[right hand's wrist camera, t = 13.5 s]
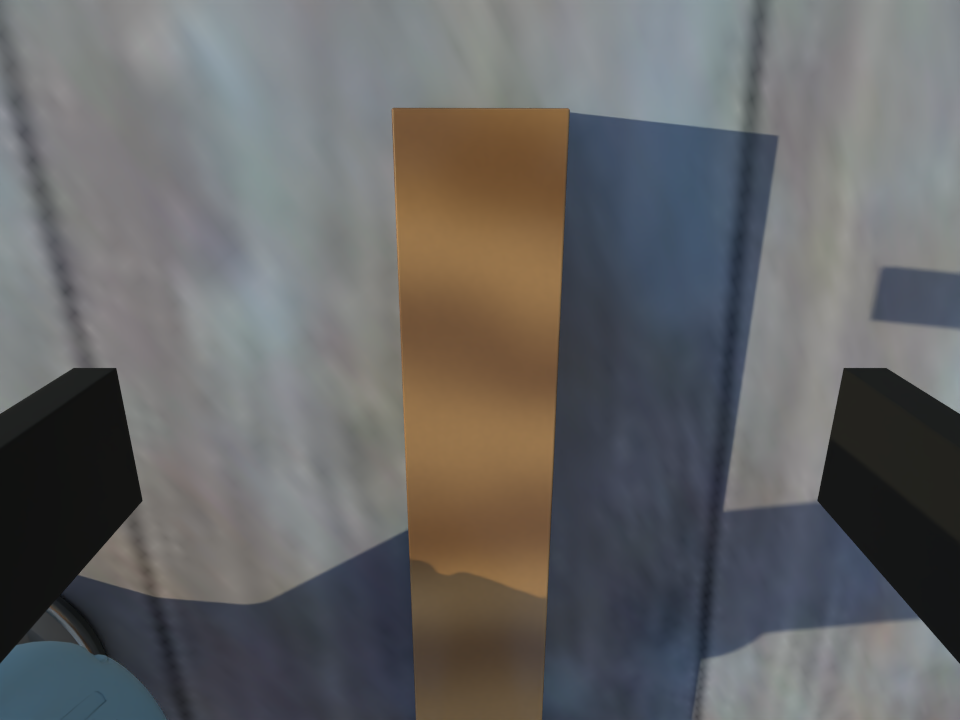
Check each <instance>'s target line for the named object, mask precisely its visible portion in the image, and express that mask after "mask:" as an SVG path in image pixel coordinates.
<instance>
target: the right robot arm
mask: <svg viewBox="0 0 960 720" xmlns="http://www.w3.org/2000/svg"><path fill="white" fill-rule="evenodd" d="M141 502H142V496H141V491H140V486H139V480H138V475H137V470H136V465H135V460H134V455H133V450H132V445H131V440H130V435H129V430H128V425H127V420H126V415H125V410H124V405H123V400H122V395H121V390H120V385H119V380H118V375H117V370H116V368H73V369H72V370H70V371H68V372H67V373H65V374H64V375H62V376H60V377H59V378H57V379H56V380H54V381H52V382H51V383H49V384H48V385H46V386H44V387H43V388H41V389H40V390H38V391H36V392H35V393H33V394H32V395H30V396H28V397H27V398H25V399H23V400H22V401H20V402H19V403H17V404H15V405H14V406H12V407H11V408H9V409H7V410H6V411H4V412H3V413H1V414H0V663H1V662H2V661H3V660H4V659H5V658H6V656H7V655H8V654H9V653H10V652H11V651H12V650H13V648H14V647H15V646H16V645H17V644H18V643H19V642H20V640H21V639H22V638H23V637H24V636H25V635H26V634H27V632H28V631H29V630H30V629H31V628H32V627H33V626H34V624H35V623H36V622H37V621H38V620H39V619H40V617H41V616H42V615H43V614H44V613H45V612H46V611H47V609H48V608H49V607H50V606H51V605H52V604H53V603H54V601H55V600H56V599H57V598H58V597H59V596H60V595H61V593H62V592H63V591H64V590H65V589H66V588H67V587H68V585H69V584H70V583H71V582H72V581H73V580H74V579H75V577H76V576H77V575H78V574H79V573H80V572H81V571H82V569H83V568H84V567H85V566H86V565H87V564H88V563H89V561H90V560H91V559H92V558H93V557H94V556H95V555H96V553H97V552H98V551H99V550H100V549H101V548H102V547H103V545H104V544H105V543H106V542H107V541H108V540H109V539H110V537H111V536H112V535H113V534H114V533H115V532H116V530H117V529H118V528H119V527H120V526H121V525H122V524H123V522H124V521H125V520H126V519H127V518H128V517H129V516H130V514H131V513H132V512H133V511H134V510H135V509H136V508H137V506H138V505H139V504H140V503H141ZM818 502H819V503H820V504H821V505H822V506H823V508H824V509H825V510H826V511H827V512H828V513H829V514H830V516H831V517H832V518H833V519H834V520H835V521H836V522H837V524H838V525H839V526H840V527H841V528H842V529H843V530H844V532H845V533H846V534H847V535H848V536H849V537H850V539H851V540H852V541H853V542H854V543H855V544H856V545H857V547H858V548H859V549H860V550H861V551H862V552H863V553H864V555H865V556H866V557H867V558H868V559H869V560H870V561H871V563H872V564H873V565H874V566H875V567H876V568H877V569H878V571H879V572H880V573H881V574H882V575H883V576H884V577H885V579H886V580H887V581H888V582H889V583H890V584H891V585H892V587H893V588H894V589H895V590H896V591H897V592H898V593H899V595H900V596H901V597H902V598H903V599H904V600H905V601H906V603H907V604H908V605H909V606H910V607H911V608H912V609H913V611H914V612H915V613H916V614H917V615H918V616H919V617H920V619H921V620H922V621H923V622H924V623H925V624H926V626H927V627H928V628H929V629H930V630H931V631H932V632H933V634H934V635H935V636H936V637H937V638H938V639H939V640H940V642H941V643H942V644H943V645H944V646H945V647H946V648H947V650H948V651H949V652H950V653H951V654H952V655H953V656H954V658H955V659H956V660H957V661H958V662H959V663H960V414H959V413H957V412H956V411H954V410H953V409H951V408H949V407H948V406H946V405H945V404H943V403H941V402H940V401H938V400H937V399H935V398H933V397H932V396H930V395H928V394H927V393H925V392H924V391H922V390H920V389H919V388H917V387H916V386H914V385H912V384H911V383H909V382H908V381H906V380H904V379H903V378H901V377H900V376H898V375H896V374H895V373H893V372H892V371H890V370H888V369H887V368H844V370H843V375H842V380H841V385H840V390H839V395H838V400H837V405H836V410H835V415H834V420H833V425H832V430H831V435H830V440H829V445H828V450H827V455H826V460H825V465H824V470H823V475H822V480H821V486H820V491H819V496H818Z"/></svg>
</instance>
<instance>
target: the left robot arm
mask: <svg viewBox="0 0 960 720" xmlns="http://www.w3.org/2000/svg"><path fill="white" fill-rule="evenodd" d="M0 720H167V719H166V717H165V715H164V713H163V711H162V710H161V708H160V706H159V705H158V703H157V702H156V701H155V699H154V698H153V696H152V695H151V694H150V692H149V691H148V690H147V689H146V688H145V686H144V685H143V684H142V683H141V682H140V681H139V680H138V679H137V678H136V677H135V676H134V675H133V674H132V673H131V672H129V671H128V670H127V669H126V668H125V667H123V666H122V665H121V664H119V663H118V662H116V661H115V660H113V659H111V658H109V657H107V656H106V654H105V651H104V649H103V646H102V644H101V643H100V641H99V639H98V637H97V635H96V634H95V632H94V631H93V629H92V628H91V626H90V625H89V624H88V623H87V622H86V620H85V619H84V618H83V617H82V616H81V615H80V614H79V613H78V612H77V610H76V609H75V608H73V607H72V606H71V605H70V604H69V603H68V602H67V601H65V600H64V599H63V598H62V597H60V596H59V597H58V598H57V599H56V600H55V601H54V603H53V604H52V605H51V606H50V607H49V608H48V609H47V611H46V612H45V613H44V614H43V615H42V616H41V617H40V619H39V620H38V621H37V622H36V623H35V624H34V626H33V627H32V628H31V629H30V630H29V631H28V632H27V634H26V635H25V636H24V637H23V638H22V639H21V640H20V642H19V643H18V644H17V645H16V646H15V647H14V648H13V650H12V651H11V652H10V653H9V654H8V655H7V656H6V658H5V659H4V660H3V661H2V662H1V663H0Z"/></svg>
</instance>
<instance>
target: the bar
mask: <svg viewBox="0 0 960 720" xmlns="http://www.w3.org/2000/svg"><path fill="white" fill-rule="evenodd" d="M569 115H570V110H569V109H568V108H392V130H393V155H394V180H395V206H396V231H397V256H398V281H399V306H400V331H401V356H402V381H403V406H404V431H405V456H406V481H407V506H408V531H409V556H410V581H411V606H412V631H413V657H414V682H415V707H416V720H542V708H543V686H544V664H545V642H546V620H547V598H548V576H549V554H550V532H551V510H552V488H553V466H554V444H555V422H556V400H557V379H558V357H559V335H560V313H561V291H562V269H563V247H564V225H565V203H566V181H567V159H568V137H569Z"/></svg>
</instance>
